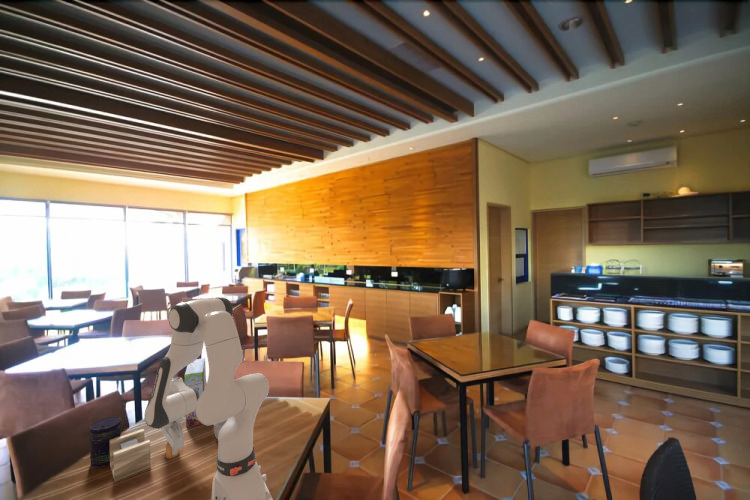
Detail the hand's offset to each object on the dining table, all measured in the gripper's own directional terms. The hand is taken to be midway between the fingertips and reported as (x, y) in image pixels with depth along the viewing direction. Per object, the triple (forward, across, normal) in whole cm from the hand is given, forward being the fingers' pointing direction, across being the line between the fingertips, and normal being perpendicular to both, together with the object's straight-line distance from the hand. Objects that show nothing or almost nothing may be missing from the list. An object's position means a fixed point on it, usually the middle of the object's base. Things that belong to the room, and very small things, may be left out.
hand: (172, 450), depth 134 cm
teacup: (+2, -2, -22) cm, 22 cm away
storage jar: (+2, +16, +20) cm, 25 cm away
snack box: (+2, +27, -17) cm, 32 cm away
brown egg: (+2, 0, 0) cm, 2 cm away
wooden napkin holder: (+2, +4, +14) cm, 14 cm away
